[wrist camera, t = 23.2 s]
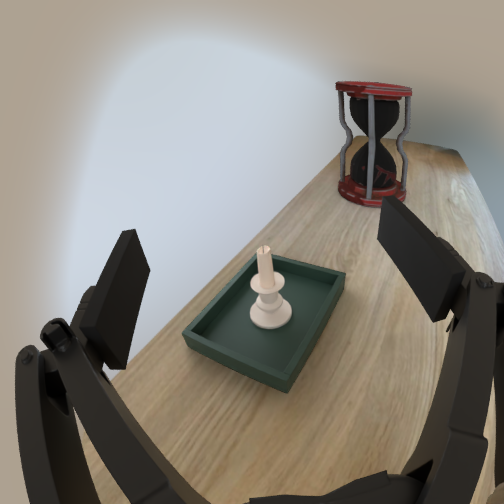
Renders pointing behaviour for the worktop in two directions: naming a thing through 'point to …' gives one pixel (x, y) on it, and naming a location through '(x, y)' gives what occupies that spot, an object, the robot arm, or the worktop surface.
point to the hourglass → (373, 142)
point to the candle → (268, 294)
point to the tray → (267, 340)
